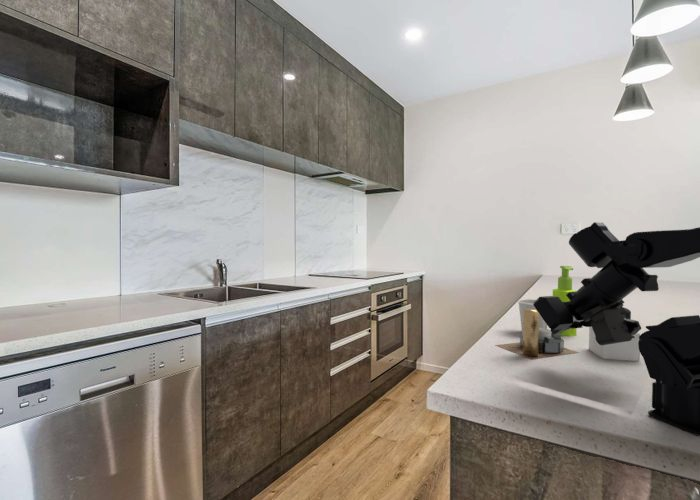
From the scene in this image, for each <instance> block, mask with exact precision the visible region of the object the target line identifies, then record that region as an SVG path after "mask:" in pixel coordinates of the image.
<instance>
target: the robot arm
mask: <svg viewBox="0 0 700 500" xmlns="http://www.w3.org/2000/svg"><path fill="white" fill-rule="evenodd" d="M568 245H569V246H570V247H571V249H573V251H574V253H576V254H577V256H579V258H580V259H581V260H582V262H584V264H585V265H586V266H587V267H589V268H597V269H600V270H598V272H597V273H595V274H594V275H593V276H592V277H589V278H583V279H582V280H581V281H580V283H581V284H582V286H580V287H579V288H578V289H577V290H575V291H576V292H569V293H568V294H567V295H566V296H567V297H568V298H569V299H570V301H569V302H562V301H561V299H560V298H559V297H556V296H553V295H548V296H545V295H544V296H543V295H542V296H539V297H538V298H537V299H535V300H536V301H535V302H534V304H533V305H534V307H535V308H536V310H537V311H538V313H539V314H540V315H541V317H542V318H543V320H544V321H545V323H546V324H547V328H548V329H549V330H551V333H552V334H559V333H561V332H564V331H566V330H569V329H571V328H572V329H575V328H576V329H582V328H584V327H586V328H589V327H592V328H593V331H594V334H595V336H596V337H595V339H596V341H597V343H598V344H599V345H608V344H615V343H621V342H627V341H631V340H632V338H635V337H634V336H632V335H635V334H636V333H637V332H639V331H641V330H642V326H641V323H640V322H639V320H636V319H635V320H634V319H625V318H626V310H625V309H624V308H625V307H624V304H625V301H624V300H623V299H625V298H626V297H627V296H629V295H630V294H631V293H632V292H633V291H636V289H639V291H640V292H657V291H659V288H660V287H659V283H658V278H659V276H658V275H657V274H650V273H648V272H647V271H646V270H645V269H646V268H647V269H649V268H650V269H651V268H653V269H655V268H671V267H675V266H678V265H681V264H685V263H688V262H691V261H694V260H696V259H698V258H700V226H699V227H694V228H689V229H672V230H671V229H670V230H650V231H638V232H637V231H636V232H633V233H630V234H628V235H627V236H626V238H625V239H623V240H619V238H617V237H616V236H615V235H614V234H613V233H612V232H611V231H610V229H609V228H608V226H606V224H605V223H604V222H593V223H592V224H591V225H590V226H587V227H585V228H582V229H581V230H579V231H577V232H575V233H573V234H572V235H571V237H570V238H569V240H568ZM623 307H624V308H623ZM645 329H647V330H646V331H644V332H642V333H640V336H639V342H638V346H639V351H640V355H641V356H642V358H643V360H644V364H645V368H646V370H647V373H648V376H649V378H650V379H652V380H655V381H653V382H652V383H651V386H652V388H651V391H652V393H651V407H652V409H651V410H648V412H647V414H648V415H649V416H650V417H653V418H656V419H658V420H660V421H662V422H665V423H668V424H670V425H673V426H675V427H677V428H679V429H682V430H683V431H684V430H685V431H687V432H689V433H692V434H694V435H696V436H700V315H698V314H697V315H695V314H694V315H684V316H673V317H672V316H671V317H669V318H668V319H666V320H663V321H662V322H660V323H659V324H655V325H646V326H645Z"/></svg>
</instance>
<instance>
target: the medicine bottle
mask: <svg viewBox="0 0 700 500" xmlns="http://www.w3.org/2000/svg"><path fill="white" fill-rule="evenodd" d="M622 307H623V308H624V309H625V310H626V318H625V319H631V317H632V312H631V310H630V309H629V308H626V307H624V306H622ZM631 320H632V319H631ZM588 329H589V330H588V331H589V332H588V350H589V351H591V352H592V353H594V355H596V356H598V357H599V358H602V359H604V360H617V361H618V360H620V361H634V362H635V361H636V362H640V358H641V357H640V355H641V353H640V351H639V346H638V342H639V336H640V335H641V332H639V331H638V332H637V333H636V334H635V335H632V336H634V337H635V338H632V340H631V341H627V342H621V343H615V344H608V345H599V344H598V343H597V341H596V339H595V337H596V336H595V334H594V331H593V328H592V327H588Z"/></svg>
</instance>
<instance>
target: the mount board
mask: <svg viewBox="0 0 700 500" xmlns="http://www.w3.org/2000/svg"><path fill="white" fill-rule="evenodd" d="M551 333H552V332H551V329H549V328H547V329H544V328H539V340H542V341H544V337H551ZM495 347H498V348H500V349H502V350H503V349H504V350H506V351H509V352H510V353H513V354H515V355H518V356H521V357H524V358H526V359H529V360H531V361H533V360H539V359H546V358H553V357H559V356H566V355H567V356H568V355H573V354H580V352H578V351H575V350H573V349H570V348H566V347H564V350H563V351H561V352H558V353H545V352H539V355H538V356H529V355H525V354H523V346H521V345H520V341H517V342H511V343H504V344H496V345H495Z"/></svg>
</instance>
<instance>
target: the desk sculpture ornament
mask: <svg viewBox="0 0 700 500" xmlns="http://www.w3.org/2000/svg"><path fill="white" fill-rule="evenodd" d="M521 333H522V332H521ZM519 337H520V339H519V342H520V345H521V346H523V354H525V355H529V356H538V355H539V352H545V353H558V352H561V351H563V350H564V348H565V339H563V338H562V335H561V334H552V332H551V337H544V341H542V340H539V313H538V311H537V310H536V309H523V333H522V334H520V335H519Z"/></svg>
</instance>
